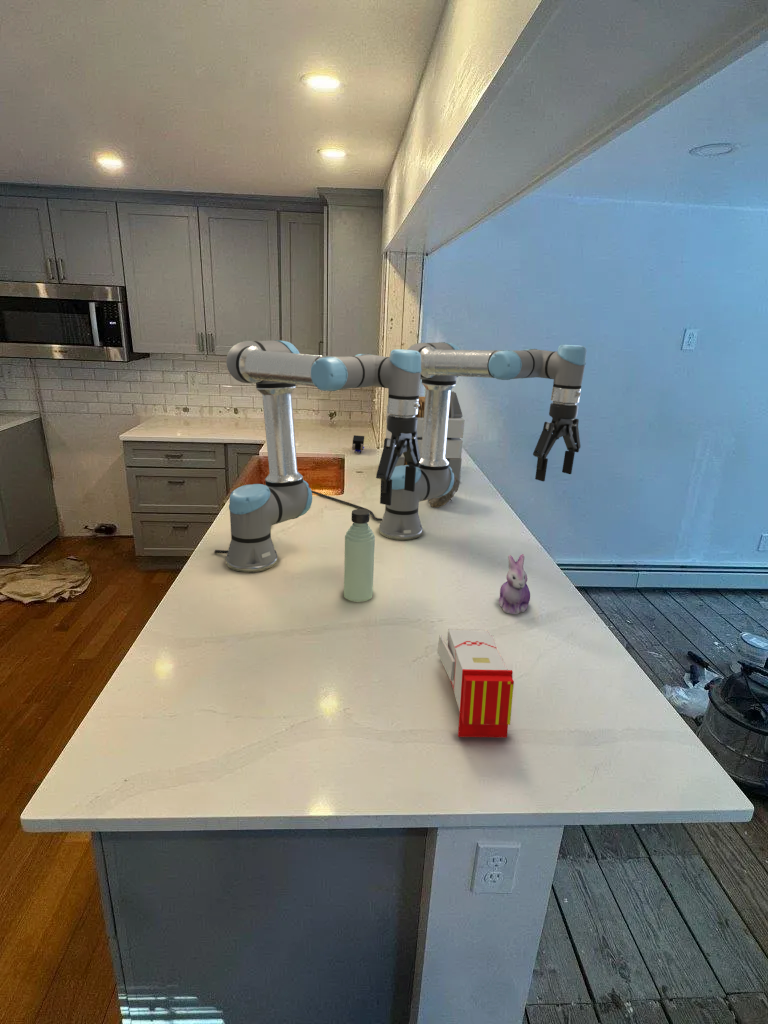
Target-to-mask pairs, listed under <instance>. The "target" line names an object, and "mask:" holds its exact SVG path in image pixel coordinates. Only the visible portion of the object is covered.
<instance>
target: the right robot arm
mask: <svg viewBox="0 0 768 1024" xmlns="http://www.w3.org/2000/svg"><path fill="white" fill-rule="evenodd" d="M406 350H415V351H418V352H419V353H420V354H421V369H422V370H421V377H420V380H421V385H423V387H424V388H425V393H424V397H425V406H424V421H423V435H422V450H421V457H420V467H416V476H415V491H414V492H412V491H407V490H404V485H405V469H406V466H409V465H401V466H396V467H395V468H394V471H393V474H392V476H391V480H392V496H391V505H390V506H389V505H385V507H384V508H385V509H384V513H383V515H382V517H381V518H380V517H376V516H375V514H374V512H373V511H372V510H370V509H369V508H366V507H363V506H360V505H357V504H355V503H351V502H349V501H345V500H342V499H339V498H336V497H333V496H330V495H327V494H323V493H320V492H317V491H315V490H313V489H311V491H312V494H314V495H317V496H319V497H323V498H326V499H329V500H332V501H336V502H338V503H341V504H344V505H347V506H350V507H354V508H355V509H365V510H368V511H369V512H370V513H369V514H370V516H371V517H372V519H373V520H374V521H378V522H379V525H378V533H379V534H380V535H381V536H382V537H385V538H387V539H389V540H395V541H410V540H415V539H418V538H420V537H421V536H422V535H423V525H422V524H421V518H420V515H419V507H420V506H419V505H420V502H423V501H427V500H428V499H432V498H438V497H441V496H443V495H445V494H447V493H448V492H449V491H450V490H451V489H452V487H453V484H454V473H452V469H451V467H450V466H449V462H448V461H447V459H446V458H445V454H446V442H447V430H448V418H449V406H450V394H451V391H452V389H453V388H455V386H456V385H457V378H458V377H467V378H468V377H470V378H483V379H485V378H486V379H487V378H488V379H495V380H501V381H509V380H517V379H532V378H533V379H534V378H540V379H548V380H553V382H552V383H553V384H552V389H551V396H550V401H551V403H550V404H549V412H548V415H549V417H550V418H551V422H550V421H544V423H543V428H542V431H541V433H540V435H539V438H538V439H537V440H538V441H537V442H536V445H535V448H534V450H533V453H532V455H533V456H534V457H535V458H537V461H536V470H535V478H534V480H536V481H540V482H545V481H546V476H547V468H548V463H549V461H548V460H549V458H547V457H548V455H549V454H550V452H551V450H552V448H553V446H554V444H555V443H556V442H557V440H559V439H560V438H562V439H563V442H564V444H565V447H566V450H565V451H564V456H563V463H562V468H561V469H562V470H561V471H562V472H561V473H564V474H568V475H572V472H573V466H574V461H575V460H574V459H575V454H576V453H579V452H580V449H581V438H580V430H579V424H580V420H579V418H578V412H579V403H580V397H581V396H582V394H581V393H582V392H581V391H582V384H583V379H584V372H585V369H586V364H587V362H586V361H587V348H586V346H584V345H577V344H576V345H575V344H560V345H559V346H558V348H557V351H556V350H555V351H552V350H544V349H538V348H525V349H521V350H519V349H518V350H516V349H515V350H512V349H508V350H507V349H503V350H502V349H501V350H499V349H498V350H496V349H491V350H489V349H461V348H460V347H459V346H458V345H457V344H455V343H451V342H445V341H444V342H442V341H441V342H440V341H439V342H438V341H437V342H417V343H415V344H412V345H411V346H410V347H408V348H407V349H406ZM428 501H429V500H428Z"/></svg>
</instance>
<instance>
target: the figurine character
mask: <svg viewBox="0 0 768 1024" xmlns="http://www.w3.org/2000/svg"><path fill="white" fill-rule="evenodd" d="M364 443H365V435H353V437H352V444H351V445H352V446H351V450H352V451H354V454H357V453H359V454H362V451H364V449H365V446H364Z"/></svg>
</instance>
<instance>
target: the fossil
mask: <svg viewBox="0 0 768 1024" xmlns="http://www.w3.org/2000/svg"><path fill="white" fill-rule="evenodd" d="M459 488H460V482H459V480H458V478H456V477H455V476H454V484H453V487H452V489H451V490H450V491H449V492H448V493H447V494H445V495H443V496H441V497H438V498H432V499H428V504H429V505H430V507H431V508H435V509H436V508H437V509H438V508H441V507H443V506H445V505H447V503H449V502H452V501H453V500H452V499H453V498H454V496H455V494H456V493H457V492H458V490H459Z"/></svg>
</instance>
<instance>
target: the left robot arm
mask: <svg viewBox="0 0 768 1024" xmlns="http://www.w3.org/2000/svg"><path fill="white" fill-rule="evenodd" d="M225 363H226V369H227V371H228V373H229V374H230V375H231V377H232V378H233V379H234V380H236V381H238V382H240V383H244V384H255V388H256V390H257V391H258V392H259V393H260V394H261V396H262V398H261V399H262V408H263V419H264V429H265V440H266V441H265V442H266V450H267V463H268V472H269V473H268V475H267V476H266V477H265V478H264V481H265V482H264V483H265V484H262V483H253V484H250V483H248V484H243V485H241V486H239V487H236V488H235V489H234V490H232V491H231V493H230V495H229V505H228V510H229V520H230V521H229V523H230V538H231V539H230V543H229V546H228V549H227V550H226V549H225V550H224V549H215V550H214V553H215V554H226V557H225V564H226V566H227V567H228V568H229V569H231V570H232V571H235V572H239V573H258V572H263V571H266V570H270V569H271V568H274V567H275V566H276V565H277V563H278V560H279V559H278V558H279V557H278V552H277V550H276V549H275V545H274V542H273V540H272V530H271V529H272V527H271V526H275V525H278V524H280V523H281V524H282V523H283V522H288V521H290V520H296V519H297V518H299V517H302V516H304V515H306V514H307V513H308V511H310V508H312V503H313V493H312V491H313V490H312V489H311V487H310V485H309V483H308V482H307V481H306V480H304V475H302V474H301V473H300V472H299V471H298V460H297V447H296V434H295V433H296V432H295V422H294V409H293V396H292V393H293V391H295V389H296V388H297V385H298V386H306V387H313V388H314V387H315V388H317V389H318V390H320V391H324V392H336V391H340V390H341V391H342V390H349V389H358V388H367V387H374V388H375V387H376V388H384V389H388V391H387V393H388V394H387V405H388V409H387V408H386V412H387V413H389V414H390V415H388V416H387V423H386V426H387V430H388V431H390V432H391V433H392V435H391V439H388V438H386V437H385V438H384V440H383V448H382V451H381V456H380V460H379V464H378V467H377V471H376V475H375V478H377V479H379V480H380V496H379V504H380V505H389V506H390V505H391V496H392V480H391V476H392V474H393V471H394V468H395V466H396V463H397V460H398V458H399V457H401V455H402V453H403V455H404V457H405V460H406V462H407V465H409V466H406V469H405V485H404V490H407V491H412V492H414V491H415V476H416V467H420V454H419V448H418V441H417V421H418V418H417V417H416V416H415V415H417V414H418V407H419V406H420V404H419V397H420V386H421V385H420V384H421V379H420V377H421V370H422V369H421V354H420V353H419V352H418V351H415V350H407V349H401V348H400V349H397V348H396V349H392V350H391V351H390V354H389V356H384V355H376V354H372V353H358V354H355V355H350V356H335V355H334V356H333V355H319V354H306V353H300V351H299V350H298V348H296V346H295V345H294V344H293V343H292V342H290V341H287V340H278V339H273V340H245V341H240V342H238V343H235V344H234V345H233V346H232V347H231V348H230V349H229V351H228V353H227V355H226V359H225ZM415 457H416V458H415ZM311 490H312V491H311Z"/></svg>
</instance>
